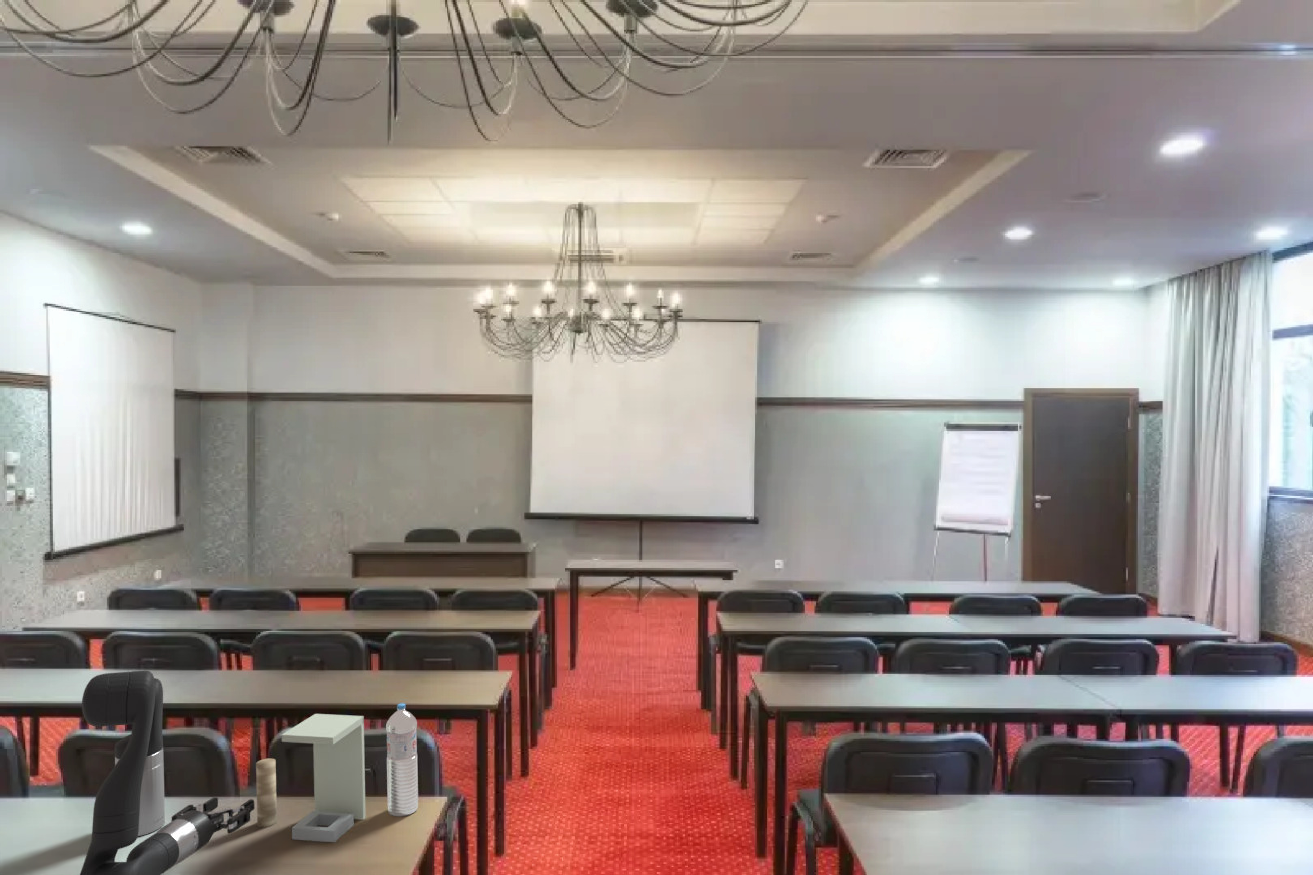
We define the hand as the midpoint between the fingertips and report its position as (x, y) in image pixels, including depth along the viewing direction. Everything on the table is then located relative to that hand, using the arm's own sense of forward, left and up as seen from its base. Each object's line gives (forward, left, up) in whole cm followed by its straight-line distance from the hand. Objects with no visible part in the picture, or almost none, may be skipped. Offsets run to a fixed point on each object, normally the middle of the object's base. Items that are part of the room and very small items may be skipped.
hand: (234, 802), depth 180 cm
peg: (0, +11, -10) cm, 15 cm away
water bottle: (+28, +21, -10) cm, 36 cm away
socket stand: (+15, +9, -10) cm, 20 cm away
